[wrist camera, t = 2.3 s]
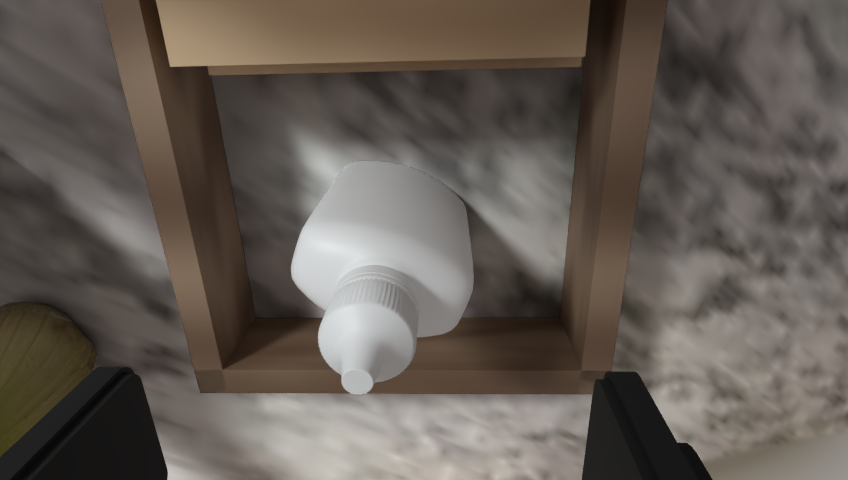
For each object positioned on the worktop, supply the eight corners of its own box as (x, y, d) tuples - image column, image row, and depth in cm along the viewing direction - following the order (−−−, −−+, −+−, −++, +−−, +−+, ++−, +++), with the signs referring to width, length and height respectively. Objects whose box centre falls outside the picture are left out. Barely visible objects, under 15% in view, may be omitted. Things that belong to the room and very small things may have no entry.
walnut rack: (153, -57, 18) (80, -79, 14) (632, -73, 17) (682, -100, 14) (235, 338, 25) (200, 392, 21) (582, 338, 24) (607, 394, 21)
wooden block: (207, -59, 18) (137, -84, 14) (571, -71, 18) (611, -102, 13) (229, 69, 20) (173, 80, 16) (561, 61, 19) (593, 70, 15)
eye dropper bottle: (406, 274, 23) (373, 499, 12) (320, 186, 22) (192, 352, 11) (479, 217, 22) (516, 410, 11) (394, 120, 20) (336, 230, 9)
